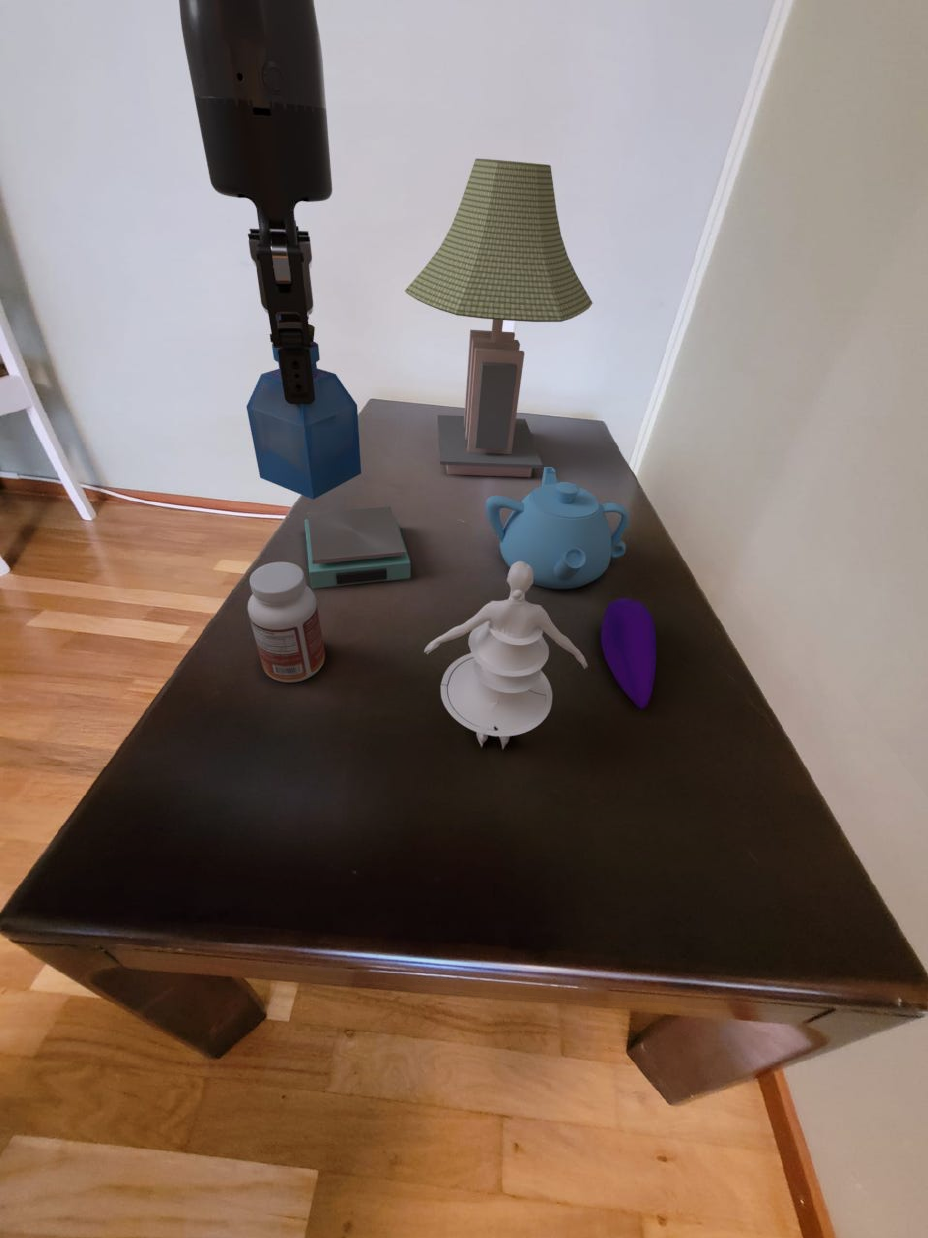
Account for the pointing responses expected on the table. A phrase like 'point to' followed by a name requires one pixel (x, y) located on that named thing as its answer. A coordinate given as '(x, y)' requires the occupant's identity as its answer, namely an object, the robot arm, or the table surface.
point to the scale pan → (354, 535)
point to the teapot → (558, 533)
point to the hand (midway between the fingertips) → (299, 387)
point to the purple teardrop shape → (630, 648)
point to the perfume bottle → (305, 431)
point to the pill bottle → (285, 622)
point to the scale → (357, 569)
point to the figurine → (503, 664)
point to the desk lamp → (499, 306)
